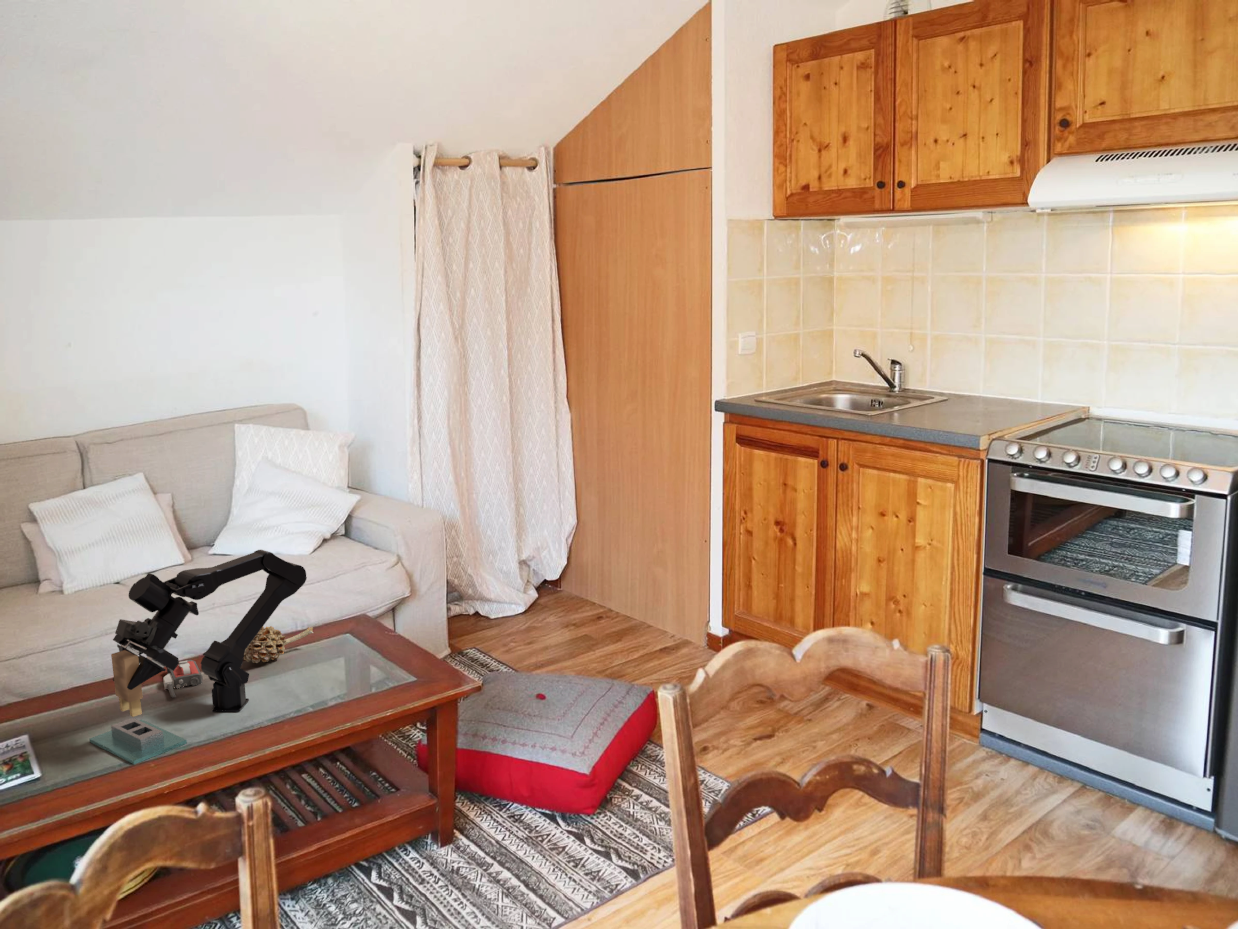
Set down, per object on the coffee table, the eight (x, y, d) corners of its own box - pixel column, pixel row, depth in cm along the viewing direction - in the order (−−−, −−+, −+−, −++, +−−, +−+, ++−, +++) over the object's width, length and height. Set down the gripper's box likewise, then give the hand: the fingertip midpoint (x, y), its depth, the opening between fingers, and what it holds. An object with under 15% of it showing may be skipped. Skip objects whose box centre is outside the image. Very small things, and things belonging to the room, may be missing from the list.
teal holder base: (89, 742, 234) (88, 728, 233) (141, 722, 243) (140, 709, 242) (134, 764, 223) (132, 749, 222) (186, 743, 232) (185, 729, 232)
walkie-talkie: (159, 675, 272) (169, 703, 255) (157, 658, 271) (167, 685, 254) (196, 668, 276) (208, 695, 259) (194, 652, 275) (206, 678, 258)
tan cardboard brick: (117, 710, 233) (111, 654, 231) (131, 706, 235) (124, 650, 233) (130, 718, 229) (124, 660, 227) (144, 713, 232) (138, 656, 229)
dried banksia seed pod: (249, 674, 270) (246, 637, 268) (228, 666, 276) (225, 629, 274) (323, 650, 287) (321, 614, 285) (302, 642, 293) (300, 607, 291)
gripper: (117, 596, 237) (71, 658, 230) (159, 613, 225) (112, 679, 219) (155, 620, 244) (112, 681, 238) (198, 638, 232) (154, 702, 226)
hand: (121, 685), depth 230 cm, fingers closed on tan cardboard brick, 6 cm apart
